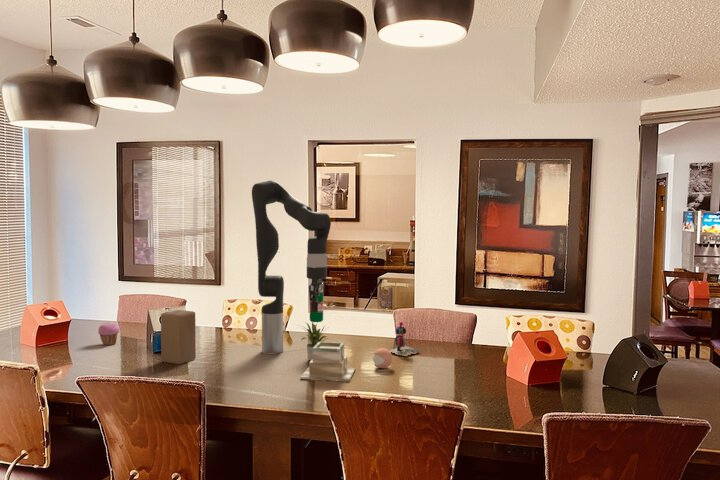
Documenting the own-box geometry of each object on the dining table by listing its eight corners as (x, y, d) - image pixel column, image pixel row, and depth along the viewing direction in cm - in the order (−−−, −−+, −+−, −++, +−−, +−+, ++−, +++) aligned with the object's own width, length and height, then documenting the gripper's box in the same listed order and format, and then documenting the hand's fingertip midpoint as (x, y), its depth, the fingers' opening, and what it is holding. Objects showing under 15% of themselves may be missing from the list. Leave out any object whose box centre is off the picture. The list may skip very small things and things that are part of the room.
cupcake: (123, 343, 256) (123, 322, 255) (106, 347, 248) (105, 325, 248) (111, 341, 260) (111, 320, 260) (94, 344, 253) (93, 323, 253)
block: (196, 359, 230) (196, 311, 229) (179, 365, 221) (178, 315, 220) (178, 356, 234) (177, 309, 233) (160, 362, 225) (159, 313, 224)
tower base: (309, 368, 218) (309, 339, 217) (355, 370, 215) (355, 341, 215) (300, 379, 203) (300, 349, 203) (349, 382, 201) (349, 351, 200)
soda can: (317, 323, 205) (317, 290, 205) (306, 321, 208) (307, 289, 207) (325, 321, 209) (326, 289, 209) (315, 319, 212) (315, 288, 212)
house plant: (288, 359, 230) (288, 320, 230) (312, 353, 241) (313, 315, 240) (311, 366, 221) (311, 325, 220) (336, 359, 231) (336, 320, 230)
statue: (403, 360, 235) (401, 326, 233) (388, 355, 242) (385, 322, 240) (421, 353, 242) (419, 319, 240) (405, 348, 249) (403, 316, 247)
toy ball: (369, 366, 221) (369, 347, 220) (386, 364, 224) (387, 345, 223) (377, 372, 213) (378, 351, 213) (395, 370, 216) (396, 350, 216)
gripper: (312, 264, 216) (311, 307, 216) (301, 266, 201) (301, 313, 202) (331, 264, 214) (330, 308, 215) (321, 267, 200) (321, 314, 201)
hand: (316, 310), depth 208 cm, fingers closed on soda can, 5 cm apart
